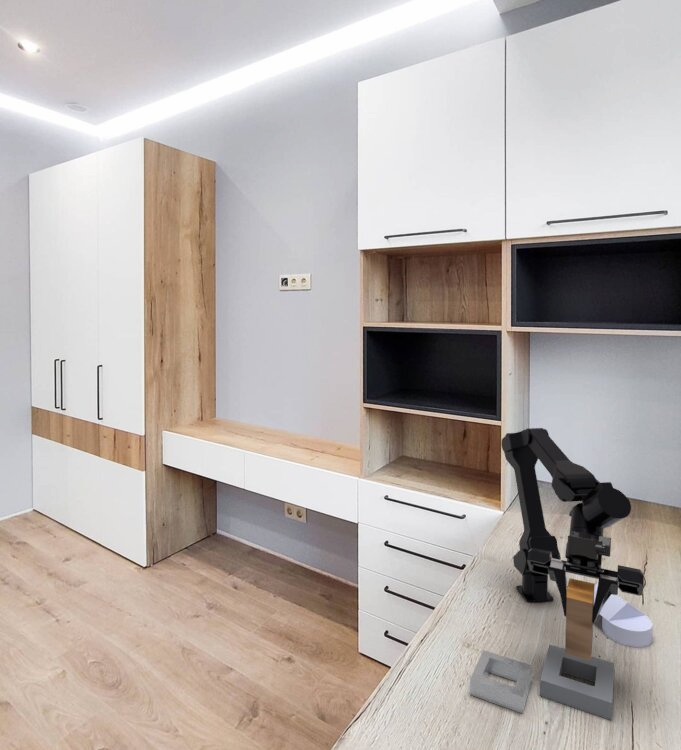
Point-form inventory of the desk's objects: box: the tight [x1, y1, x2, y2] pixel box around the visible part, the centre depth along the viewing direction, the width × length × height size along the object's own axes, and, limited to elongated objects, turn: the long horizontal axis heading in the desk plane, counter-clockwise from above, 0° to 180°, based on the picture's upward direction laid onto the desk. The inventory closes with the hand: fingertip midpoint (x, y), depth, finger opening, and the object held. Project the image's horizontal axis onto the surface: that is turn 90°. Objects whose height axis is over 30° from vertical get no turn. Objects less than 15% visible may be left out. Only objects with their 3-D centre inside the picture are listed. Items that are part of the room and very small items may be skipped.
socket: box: [539, 644, 615, 721], centre depth 88 cm, size 11×11×3 cm
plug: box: [564, 577, 596, 661], centre depth 87 cm, size 4×4×12 cm
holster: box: [469, 649, 533, 714], centre depth 88 cm, size 9×9×3 cm
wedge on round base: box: [594, 582, 654, 648], centre depth 105 cm, size 9×7×13 cm
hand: (579, 619), depth 86 cm, fingers closed on plug, 4 cm apart
